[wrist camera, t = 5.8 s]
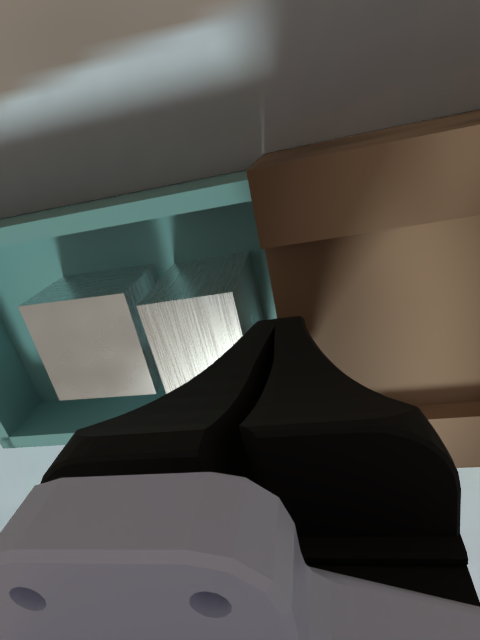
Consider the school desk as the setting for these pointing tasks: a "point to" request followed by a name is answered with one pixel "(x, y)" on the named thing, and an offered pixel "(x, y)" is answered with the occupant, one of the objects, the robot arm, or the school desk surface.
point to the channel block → (385, 262)
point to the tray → (99, 255)
